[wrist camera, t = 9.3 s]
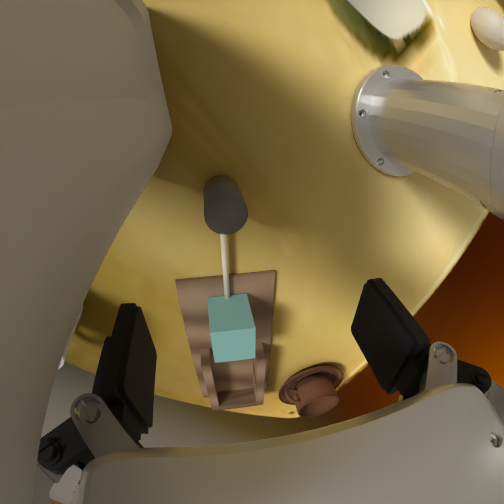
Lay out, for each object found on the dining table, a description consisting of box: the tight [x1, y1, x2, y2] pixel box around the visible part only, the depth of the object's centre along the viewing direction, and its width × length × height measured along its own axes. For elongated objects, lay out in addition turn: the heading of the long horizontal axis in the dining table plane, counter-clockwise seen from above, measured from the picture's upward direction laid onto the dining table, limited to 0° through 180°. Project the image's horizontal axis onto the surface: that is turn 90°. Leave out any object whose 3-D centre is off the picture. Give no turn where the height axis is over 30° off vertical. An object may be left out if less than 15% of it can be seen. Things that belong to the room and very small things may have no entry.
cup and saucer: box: [279, 366, 343, 417], centre depth 42 cm, size 12×12×6 cm
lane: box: [175, 270, 275, 411], centre depth 35 cm, size 25×11×3 cm, turn 0°
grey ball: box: [471, 7, 504, 51], centre depth 14 cm, size 7×7×7 cm
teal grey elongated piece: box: [204, 176, 256, 363], centre depth 26 cm, size 19×4×6 cm, turn 0°
